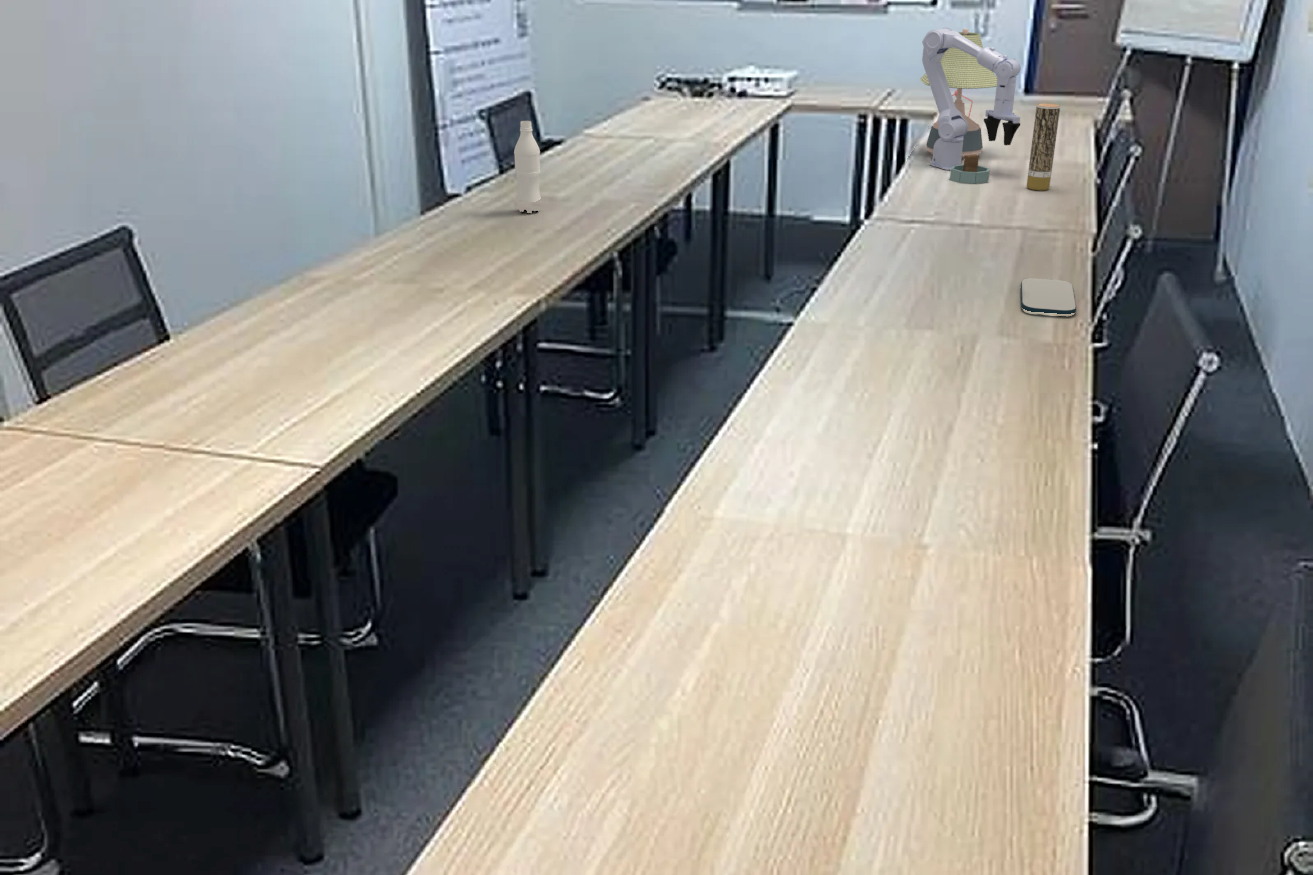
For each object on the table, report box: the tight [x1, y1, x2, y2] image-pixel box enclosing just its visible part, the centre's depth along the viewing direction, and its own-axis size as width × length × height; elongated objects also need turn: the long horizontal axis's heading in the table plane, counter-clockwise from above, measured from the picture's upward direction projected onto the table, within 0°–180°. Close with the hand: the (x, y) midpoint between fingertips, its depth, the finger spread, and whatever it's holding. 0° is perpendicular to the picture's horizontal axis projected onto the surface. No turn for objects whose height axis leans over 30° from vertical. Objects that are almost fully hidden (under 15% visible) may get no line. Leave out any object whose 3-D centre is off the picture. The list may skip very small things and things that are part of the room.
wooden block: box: [963, 154, 980, 172], centre depth 390 cm, size 2×4×7 cm, turn 115°
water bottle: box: [513, 120, 542, 202], centre depth 346 cm, size 7×7×25 cm
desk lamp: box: [920, 28, 997, 160], centre depth 419 cm, size 26×28×42 cm
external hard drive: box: [1020, 277, 1077, 314], centre depth 277 cm, size 24×12×2 cm, turn 165°
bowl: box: [949, 164, 991, 185], centre depth 391 cm, size 12×12×4 cm
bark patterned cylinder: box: [1026, 103, 1061, 192], centre depth 376 cm, size 7×7×25 cm
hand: (999, 142), depth 396 cm, fingers open, 7 cm apart
